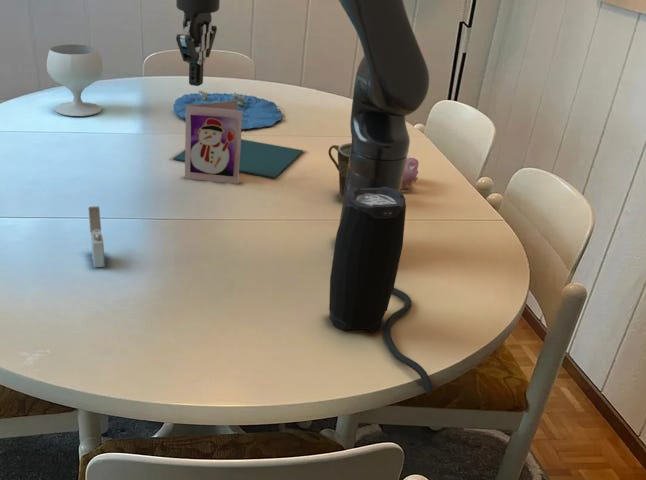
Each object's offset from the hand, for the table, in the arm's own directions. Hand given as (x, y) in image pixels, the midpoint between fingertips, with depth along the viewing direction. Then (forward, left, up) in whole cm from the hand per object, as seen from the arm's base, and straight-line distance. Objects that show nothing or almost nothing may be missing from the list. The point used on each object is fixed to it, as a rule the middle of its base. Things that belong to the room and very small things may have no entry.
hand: (195, 84), depth 132 cm
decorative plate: (+55, +15, -21) cm, 61 cm away
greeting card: (+10, 0, -21) cm, 23 cm away
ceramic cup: (+13, -29, -21) cm, 38 cm away
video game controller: (+25, -37, -21) cm, 50 cm away
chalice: (+36, +50, -21) cm, 65 cm away
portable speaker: (-34, -42, -21) cm, 58 cm away
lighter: (-34, +2, -21) cm, 40 cm away
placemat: (+25, 0, -21) cm, 33 cm away
